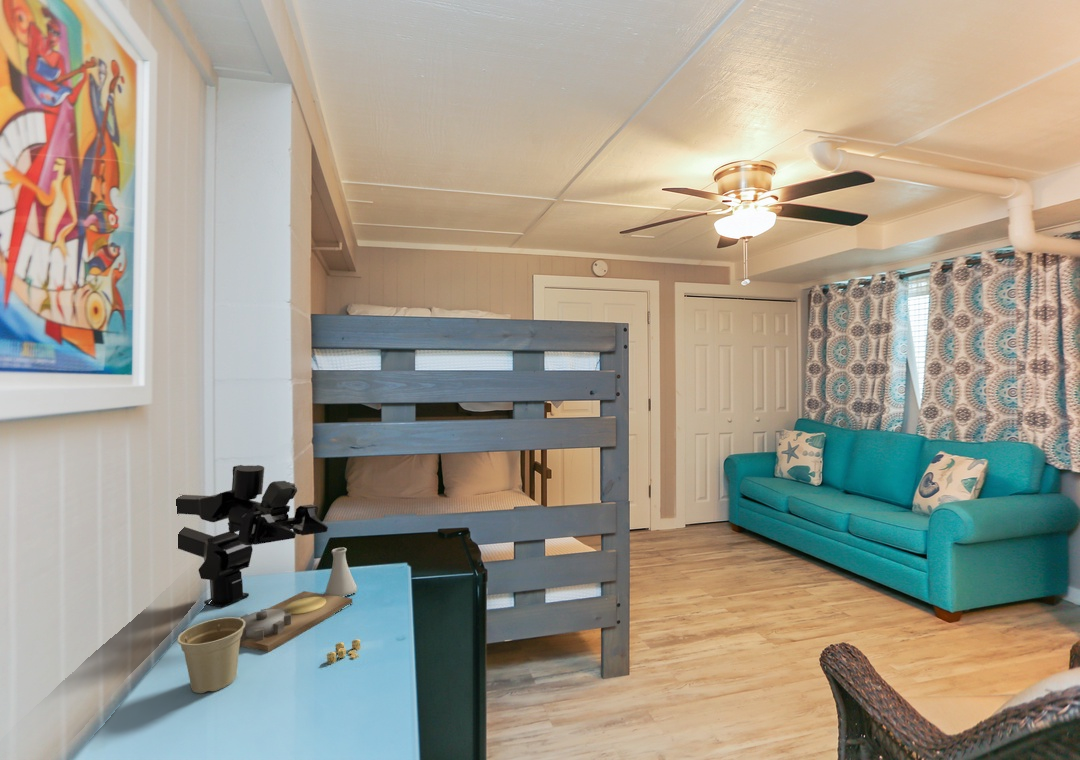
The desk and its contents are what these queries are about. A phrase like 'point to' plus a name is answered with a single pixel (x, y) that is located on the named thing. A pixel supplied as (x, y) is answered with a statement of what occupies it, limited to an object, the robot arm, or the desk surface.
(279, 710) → the desk surface
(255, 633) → the gear board
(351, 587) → the flask
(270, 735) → the desk surface
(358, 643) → the dice set
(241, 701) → the desk surface
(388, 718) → the desk surface
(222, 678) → the flower pot
